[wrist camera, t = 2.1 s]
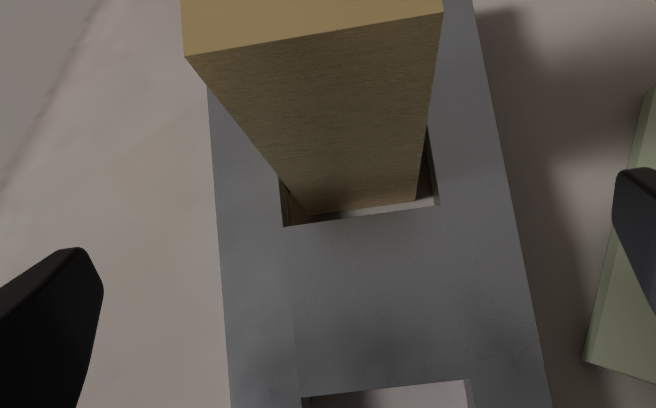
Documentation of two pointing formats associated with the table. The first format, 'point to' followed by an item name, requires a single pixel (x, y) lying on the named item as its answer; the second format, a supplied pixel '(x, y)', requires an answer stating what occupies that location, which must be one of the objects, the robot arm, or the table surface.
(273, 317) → the steel rail plate
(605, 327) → the olive rubber mat
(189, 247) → the table surface
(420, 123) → the brass peg
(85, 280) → the robot arm
